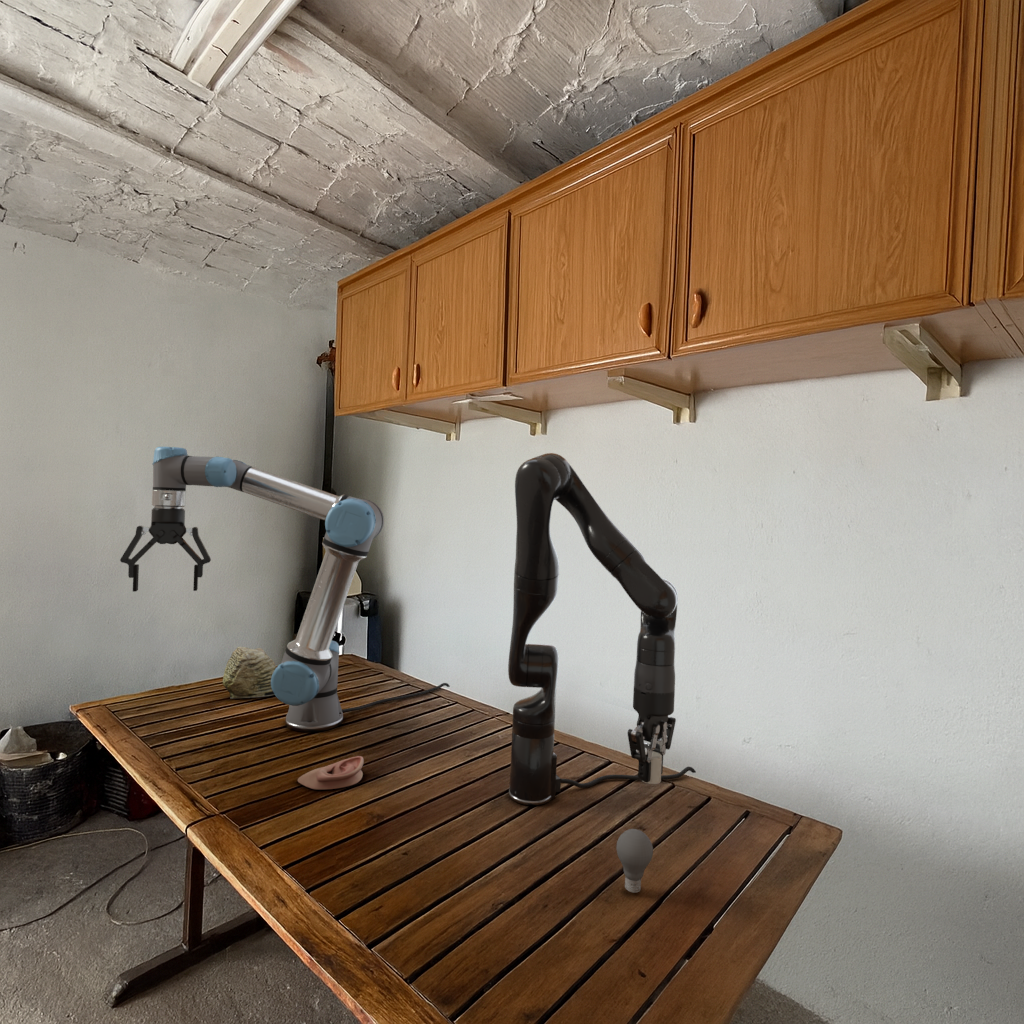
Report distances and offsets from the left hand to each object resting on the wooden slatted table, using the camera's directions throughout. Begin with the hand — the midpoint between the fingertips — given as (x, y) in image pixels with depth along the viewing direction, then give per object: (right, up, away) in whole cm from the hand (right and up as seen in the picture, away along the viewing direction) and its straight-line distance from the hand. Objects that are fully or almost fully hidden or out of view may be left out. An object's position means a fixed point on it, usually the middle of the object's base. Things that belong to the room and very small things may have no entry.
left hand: (165, 590), depth 162 cm
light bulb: (+109, -43, -56) cm, 130 cm away
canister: (+115, -30, -44) cm, 126 cm away
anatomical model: (+48, -40, -20) cm, 66 cm away
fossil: (+8, -37, +36) cm, 52 cm away
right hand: (+115, -30, -44) cm, 126 cm away
